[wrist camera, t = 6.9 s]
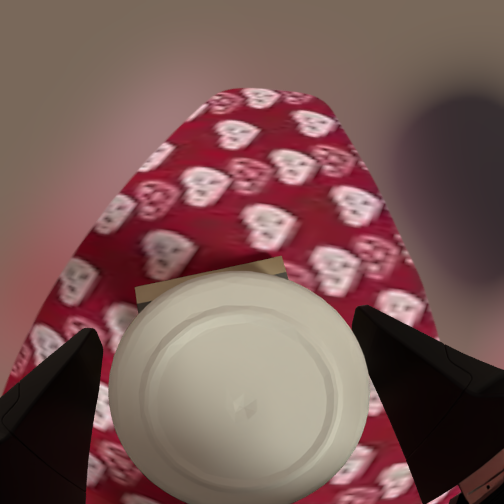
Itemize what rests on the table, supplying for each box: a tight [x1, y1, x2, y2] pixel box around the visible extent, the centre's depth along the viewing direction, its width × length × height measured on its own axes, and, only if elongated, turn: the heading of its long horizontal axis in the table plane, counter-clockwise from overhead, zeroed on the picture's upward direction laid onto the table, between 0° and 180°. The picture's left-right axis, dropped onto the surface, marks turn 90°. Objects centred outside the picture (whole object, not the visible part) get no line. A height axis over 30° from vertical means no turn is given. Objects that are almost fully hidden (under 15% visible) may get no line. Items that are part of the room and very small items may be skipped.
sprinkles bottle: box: [109, 271, 370, 504], centre depth 10 cm, size 5×5×13 cm
